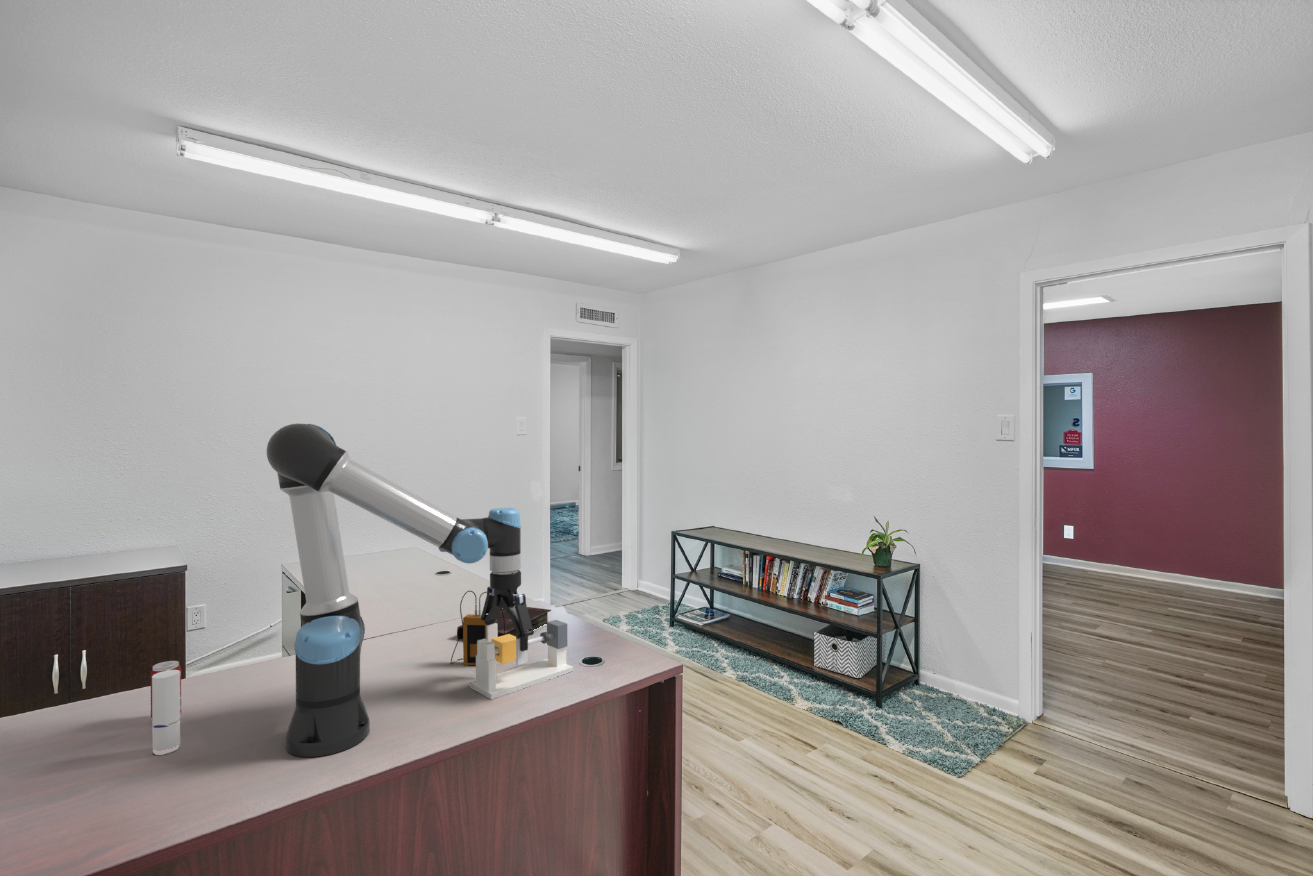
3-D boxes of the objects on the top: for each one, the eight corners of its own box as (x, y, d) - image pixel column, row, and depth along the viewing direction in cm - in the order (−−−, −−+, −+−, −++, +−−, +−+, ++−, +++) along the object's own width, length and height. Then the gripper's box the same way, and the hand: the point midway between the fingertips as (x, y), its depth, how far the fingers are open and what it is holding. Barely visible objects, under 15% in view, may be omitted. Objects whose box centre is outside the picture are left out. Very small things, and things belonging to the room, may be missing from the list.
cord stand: (491, 699, 145) (491, 648, 145) (470, 687, 152) (469, 638, 152) (573, 671, 162) (573, 625, 162) (550, 661, 169) (550, 617, 169)
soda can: (145, 725, 132) (145, 669, 132) (158, 715, 137) (158, 661, 137) (174, 722, 134) (174, 667, 134) (185, 712, 139) (185, 658, 139)
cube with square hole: (502, 664, 150) (502, 643, 150) (491, 658, 153) (491, 638, 153) (520, 658, 153) (520, 638, 153) (509, 653, 157) (509, 633, 157)
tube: (177, 742, 125) (176, 668, 125) (183, 749, 122) (182, 673, 122) (150, 750, 122) (149, 674, 122) (155, 757, 119) (155, 680, 119)
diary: (456, 641, 188) (455, 625, 188) (507, 619, 211) (507, 604, 211) (506, 649, 181) (506, 631, 181) (553, 625, 203) (553, 609, 203)
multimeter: (514, 653, 175) (514, 583, 175) (502, 667, 165) (502, 592, 165) (464, 652, 177) (464, 582, 177) (449, 665, 167) (449, 591, 167)
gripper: (547, 576, 147) (548, 665, 147) (492, 561, 165) (493, 641, 165) (520, 581, 142) (521, 674, 142) (466, 566, 159) (467, 648, 160)
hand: (506, 656), depth 153 cm, fingers open, 13 cm apart
